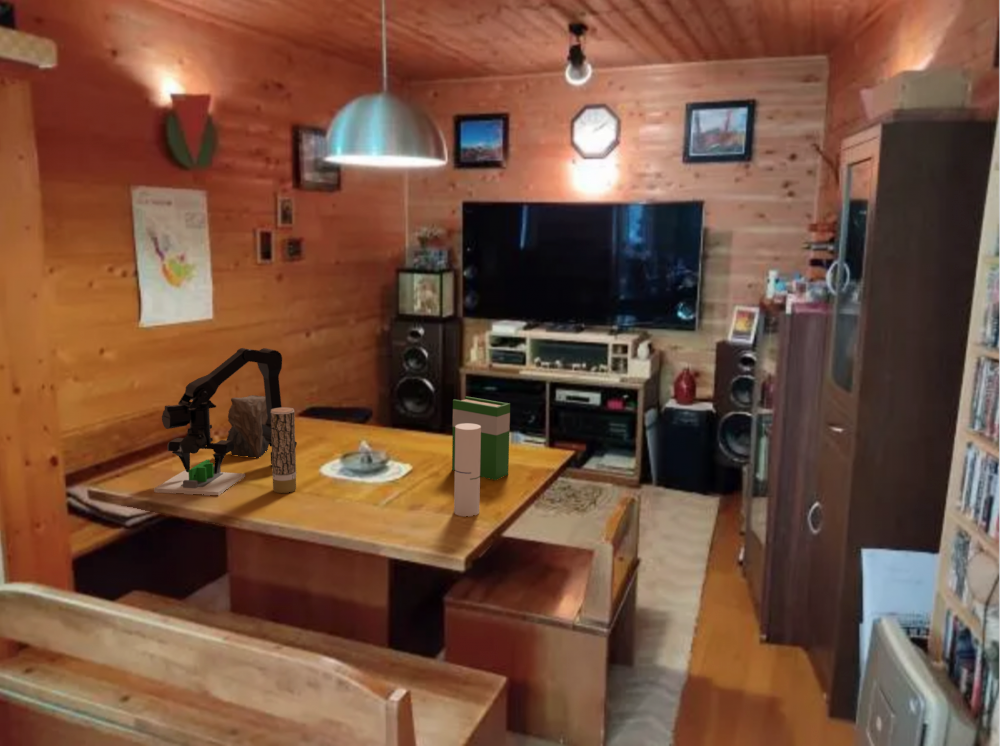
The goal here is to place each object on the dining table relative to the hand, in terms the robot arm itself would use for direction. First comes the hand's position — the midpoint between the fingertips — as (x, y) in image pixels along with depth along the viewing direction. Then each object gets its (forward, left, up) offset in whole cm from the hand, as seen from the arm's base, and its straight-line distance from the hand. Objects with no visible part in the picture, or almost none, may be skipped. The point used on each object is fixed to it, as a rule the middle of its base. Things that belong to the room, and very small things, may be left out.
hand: (202, 472), depth 234 cm
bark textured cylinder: (-27, +2, -4) cm, 27 cm away
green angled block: (0, 0, -2) cm, 2 cm away
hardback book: (-83, -26, -4) cm, 87 cm away
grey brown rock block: (-1, -33, -4) cm, 33 cm away
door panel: (0, +1, -4) cm, 4 cm away
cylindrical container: (-84, +11, -4) cm, 85 cm away
